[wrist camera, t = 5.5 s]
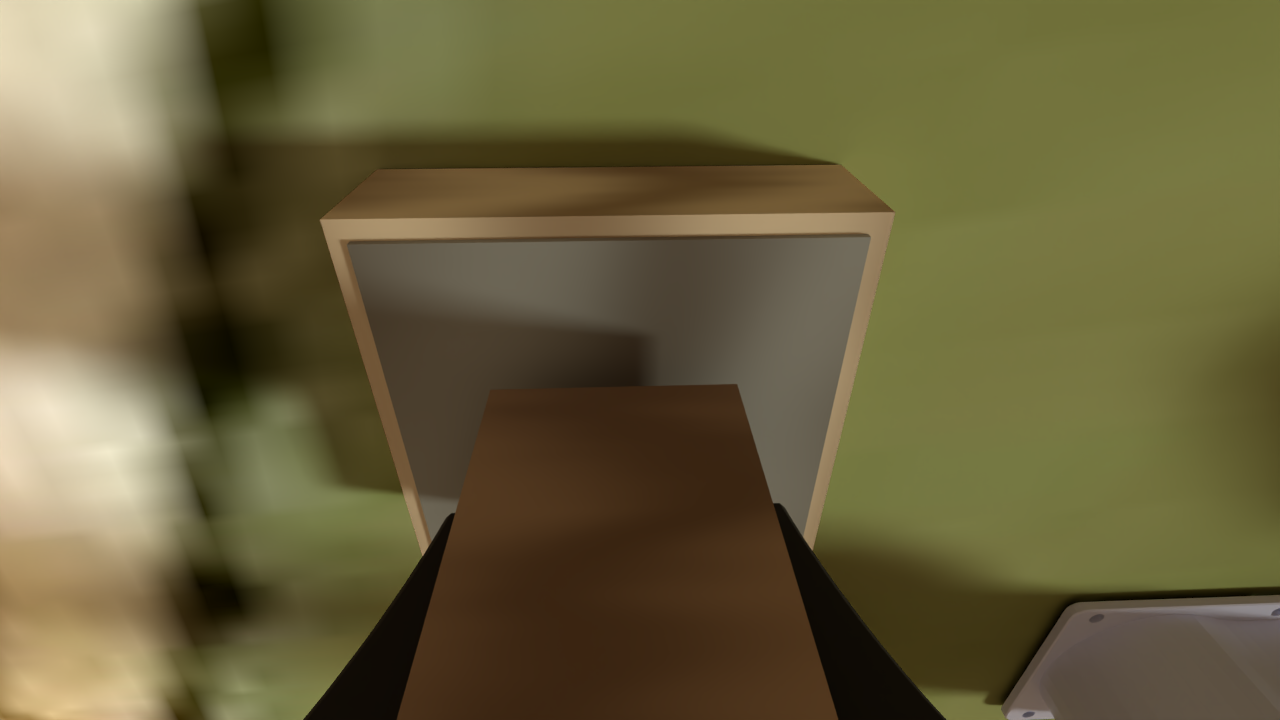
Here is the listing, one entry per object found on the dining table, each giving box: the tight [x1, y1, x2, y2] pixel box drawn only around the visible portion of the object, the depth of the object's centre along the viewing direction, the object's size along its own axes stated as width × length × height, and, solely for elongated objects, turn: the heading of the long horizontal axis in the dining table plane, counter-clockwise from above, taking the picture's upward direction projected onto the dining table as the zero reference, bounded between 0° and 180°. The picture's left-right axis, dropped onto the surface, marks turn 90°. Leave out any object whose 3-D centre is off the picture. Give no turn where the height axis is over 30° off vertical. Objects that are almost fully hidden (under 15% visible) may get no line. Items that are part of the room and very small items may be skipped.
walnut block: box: [397, 384, 838, 720], centre depth 9 cm, size 4×4×6 cm
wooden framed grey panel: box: [320, 165, 895, 556], centre depth 14 cm, size 10×10×3 cm
